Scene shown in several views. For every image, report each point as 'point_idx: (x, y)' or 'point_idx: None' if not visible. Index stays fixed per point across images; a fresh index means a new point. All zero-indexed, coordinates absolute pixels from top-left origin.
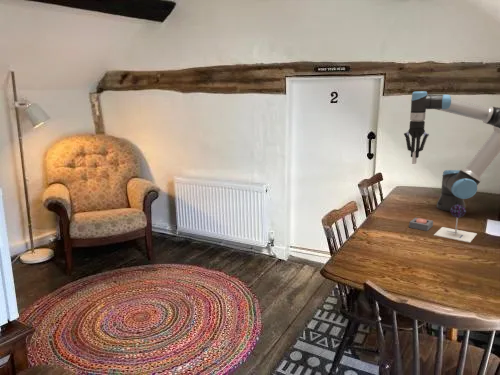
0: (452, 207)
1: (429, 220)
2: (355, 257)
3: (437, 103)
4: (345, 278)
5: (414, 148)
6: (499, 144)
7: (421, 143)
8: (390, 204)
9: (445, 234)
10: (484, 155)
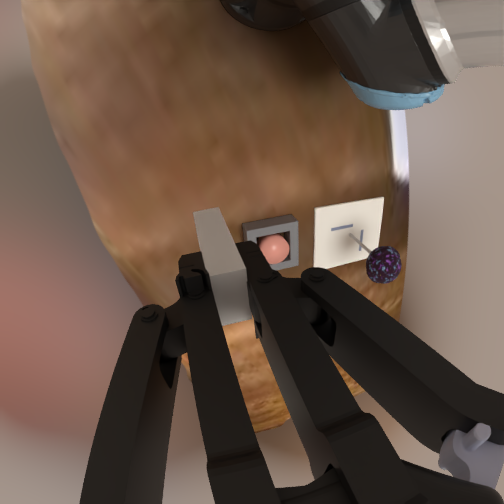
0: (377, 280)
1: (289, 226)
2: (248, 408)
3: None
4: (268, 428)
5: (218, 314)
6: None
7: (363, 384)
8: (69, 98)
9: (333, 252)
10: None
